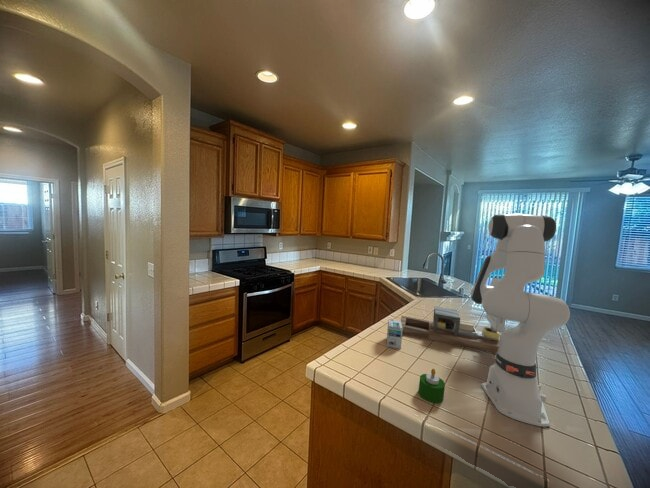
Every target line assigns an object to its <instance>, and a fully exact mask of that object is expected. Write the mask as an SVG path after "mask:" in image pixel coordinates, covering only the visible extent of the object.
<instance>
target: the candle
mask: <svg viewBox="0 0 650 488" xmlns="http://www.w3.org/2000/svg"><path fill="white" fill-rule="evenodd" d="M445 387H446V384H445V381H444V380H443V379H442V378H440V377H439V376H437V375H436V369H435V368H432V369H431V371H430V373H422V374H421V375H420V376H419V381H418V392H417V393H418V395H419V396H420V398H422V400H424V401H426V402H428V403H431V404H441V403H442V402H443V401H444V397H445V396H444V395H445V390H446V389H445Z"/></svg>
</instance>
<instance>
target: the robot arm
mask: <svg viewBox="0 0 650 488" xmlns="http://www.w3.org/2000/svg"><path fill="white" fill-rule="evenodd" d="M488 232H489V235H490V236H491V237H492V238H494V239H497V242H496V247H495V250H494V252H493V253H492V254H490V255H488V256H486V258H485V259H484V261H483V263H482V265H481V268H480V270H479V273H478V274H477V277H476V280H475V283H474V285H473V286H472V288H471V289H470V299H471V300H472V301H473V302H474V303H475V304H476V305H481V306H482V308H483V310H484V312H485V314H486V315H485V316H486V320H487V321H488V323H489V324H490V328H491V332H495V333H497V332H498V333H500V334H499V335H500V341H499V348H498V351H497V353H496V354H495V356H494V357H495V360H494V361H495V362H494V363H493V364H492V365H491V366H489V369H488V373H487V378H486V382H482V383H481V388H482V389H483V390H484V392H485V394H486V395H487V397H489V400H490V401H491V402H492V404H493V405H494V407H495V409H497V411H498V412H499V413H500V414H503V415H504V416H506V417H508V418H510V419H513V420H517V421H519V422H522V423H525V424H529V425H532V426H537V427H545V428H546V427H550V421H549V417H548V414H547V410H546V408H545V405H544V403H546V401H547V396H546V395H545V394H542V393H541V391H540V390H542V385H539V381H538V377H537V372H538V371H537V363H536V359H537V354H538V350H539V347H540V345H541V342H542V340H543V339H544V338H545V336H547V335H548V334H549V333H550V332H551V331H553V330H554V329H555V330H556V329H557V328H561V327H563V326H564V325H566V324H568V322H569V320H570V318H571V317H570V316H571V311H570V308H569V305H568V304H567V303H566V301H564V300H563V299H561V298H558V297H556V296H553V295H548V294H543V293H537V292H536V293H535V292H527V291H524V290H525V287H526V285H527V284H530V283H534V282H538V281H539V280H541V279H542V278H543V277H544V275H545V265H546V259H545V257H546V245H545V242H549V241H550V240H552V239H554V237H555V235H556V232H557V223H556V220H555V219H554V218H553V217H552V216H547V215H544V214H543V215H537V214H536V215H535V214H524V213H507V214H505V213H498V214H494V215H493V216H492V217H491V219H490V220H489V222H488ZM504 269H505V271H504V275H503V276H502V278H499V277H494V278H492V279H491V281H490V285H489V284H488V285H487V281H488V279H489V276H491V275H490V274H491V273H493V272H495V271H498V270H504ZM506 320H507V321H512V322H519V323H518V325H516V326H514V327H511V328H507V329H506Z"/></svg>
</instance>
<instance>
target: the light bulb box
mask: <svg viewBox="0 0 650 488" xmlns="http://www.w3.org/2000/svg"><path fill="white" fill-rule="evenodd" d="M386 331H387V332H386V346H387V347H388V348H392V349H400V350H401V349H402V341H403V340H402V339H403V333H402V332H403V327H402V324H401V319H400V320H399V319H394V318H388V321H387V330H386Z"/></svg>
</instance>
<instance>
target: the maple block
mask: <svg viewBox="0 0 650 488" xmlns="http://www.w3.org/2000/svg"><path fill="white" fill-rule="evenodd" d="M453 326H454V328H455V326H456V320H454V321H453ZM474 327H475V325H474V323H473V322H472V321H468V320H464V319H463V320H462V319H460V325H459V329H460V330H465V331H470V332H473V329H474Z"/></svg>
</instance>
